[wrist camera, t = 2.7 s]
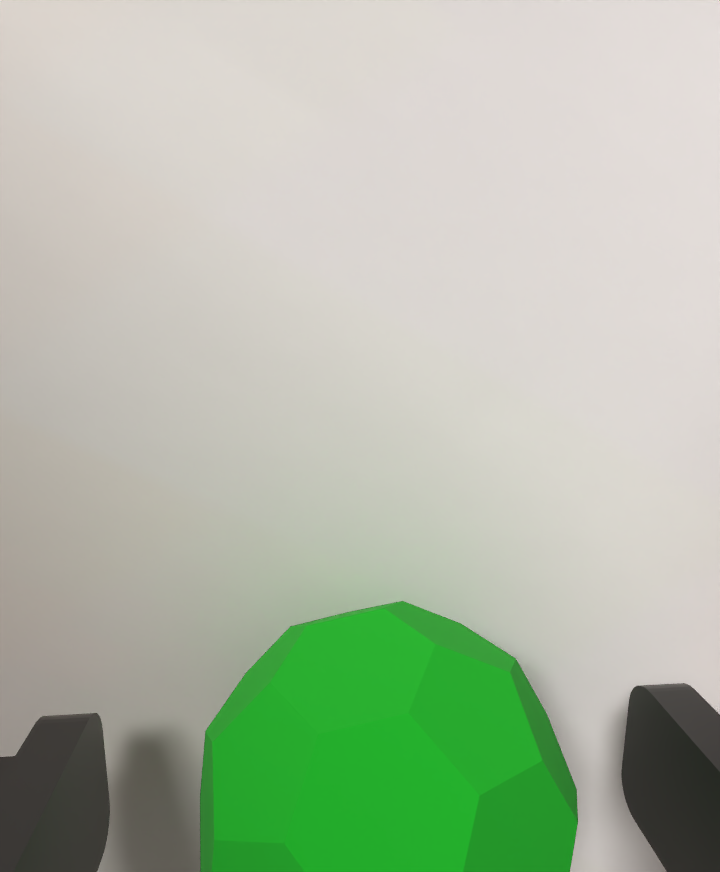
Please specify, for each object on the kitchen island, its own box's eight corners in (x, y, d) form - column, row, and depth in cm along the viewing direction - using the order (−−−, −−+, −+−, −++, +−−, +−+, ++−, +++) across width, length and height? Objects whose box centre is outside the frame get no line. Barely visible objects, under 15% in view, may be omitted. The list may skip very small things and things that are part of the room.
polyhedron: (555, 615, 11) (744, 850, 6) (430, 842, 12) (518, 1197, 7) (288, 507, 10) (281, 688, 5) (172, 760, 11) (80, 1105, 6)
